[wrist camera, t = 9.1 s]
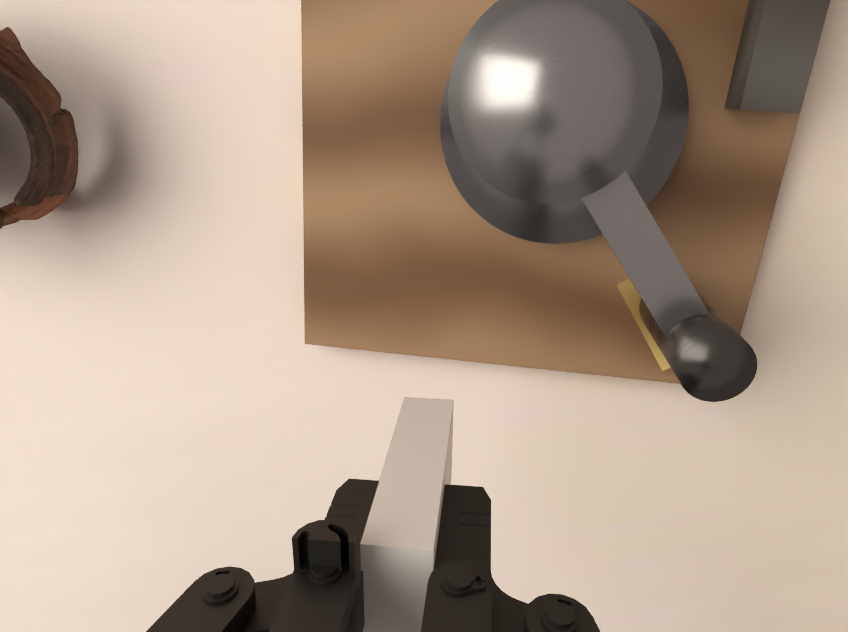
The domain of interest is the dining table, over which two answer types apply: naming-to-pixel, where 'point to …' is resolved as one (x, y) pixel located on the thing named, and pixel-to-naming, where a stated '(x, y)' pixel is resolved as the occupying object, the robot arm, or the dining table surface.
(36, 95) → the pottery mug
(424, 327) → the stand board
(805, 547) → the dining table surface
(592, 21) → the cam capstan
